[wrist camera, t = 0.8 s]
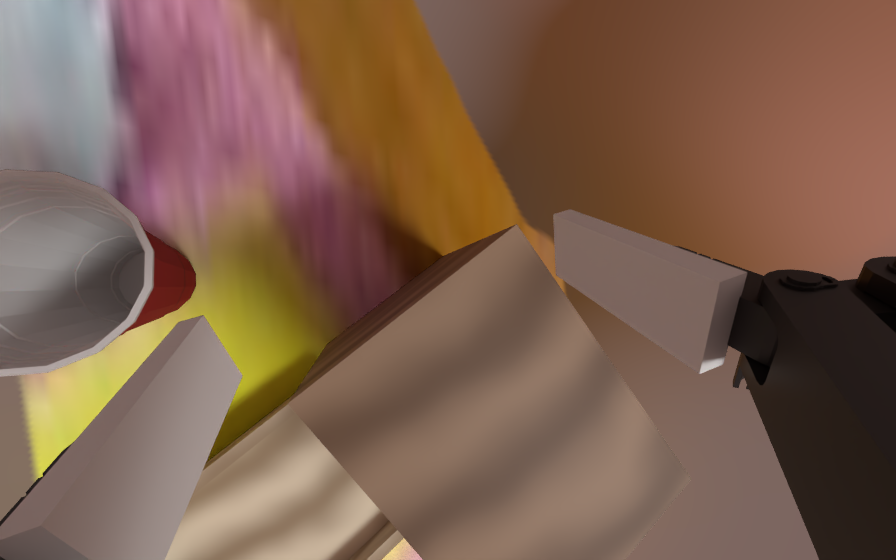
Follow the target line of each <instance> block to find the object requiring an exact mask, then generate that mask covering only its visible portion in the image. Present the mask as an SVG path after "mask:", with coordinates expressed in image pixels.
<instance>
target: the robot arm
mask: <svg viewBox="0 0 896 560" xmlns="http://www.w3.org/2000/svg"><path fill="white" fill-rule="evenodd" d="M554 240H555V264H556V275H557V276H558V277H560V278H561V279H563V280H564V281H566V282H567V283H568V284H570V285H571V286H573V287H574V288H576V289H577V290H579V291H580V292H581V293H583V294H584V295H586V296H587V297H589V298H590V299H592V300H593V301H595V302H596V303H598V304H599V305H600V306H602V307H603V308H605V309H606V310H608V311H609V312H610V313H612V314H613V315H615V316H616V317H618V318H619V319H621V320H622V321H623V322H625V323H626V324H628V325H629V326H631V327H633V328H634V329H635V330H636V331H638V332H639V333H641V334H642V335H644V336H645V337H647V338H648V339H650V340H651V341H652V342H654V343H655V344H657V345H658V346H660V347H661V348H663V349H664V350H665V351H667V352H669V353H670V354H671V355H673V356H674V357H676V358H677V359H679V360H680V361H681V362H683V363H684V364H686V365H687V366H689V367H690V368H692V369H693V370H694V371H696V372H697V373H699V374H701V373H703V372H706V371H708V370H710V369H713V368H715V367H718V366H720V365H722V364H723V363H724V359H725V356H726V352H727V348H728V345H729V346H731V347H732V348H734V349H736V350H738V351H740V352H741V355H740V358H739V361H738V365H737V368H736V372H735V376H734V379H733V387H735V388H738V387H739V384H740V381H741V380H742V379H743V378H745V380H746V383H747V387H746V389H749V390H750V392H751V395H752V397H753V400H754V402H755V405H756V407H757V409H758V412H759V414H760V417H761V419H762V421H763V424H764V426H765V429H766V431H767V433H768V436H769V439H770V441H771V443H772V446H773V448H774V451H775V453H776V456H777V458H778V460H779V463H780V465H781V468H782V470H783V472H784V475H785V477H786V479H787V482H788V485H789V487H790V489H791V492H792V494H793V497H794V499H795V502H796V504H797V506H798V509H799V511H800V514H801V516H802V518H803V521H804V523H805V526H806V528H807V531H808V533H809V535H810V538H811V540H812V543H813V545H814V548H815V550H816V552H817V555H818V557H819V560H896V257H878V258H872V259H870V260H868V261H866V262H865V264H864V266H863V268H862V271H861V273H860V275H859V277H858V279H853V280H844V281H838V280H836V279H834V278H832V277H830V276H826V275H823V274H819V273H814V272H809V271H802V270H776V271H773V272H769V273H767V274H766V275H765V276H762V275H760V274H757V273H754V272H751V271H748V270H745V269H742V268H740V267H737V266H734V265H731V264H728V263H725V262H722V261H720V260H717V259H711V258H710V257H708V256H705V255H702V254H697V253H696V252H694V251H691V250H688V249H685V248H682V247H678V246H672V245H669V244H666V243H664V242H661V241H658V240H655V239H652V238H649V237H647V236H644V235H641V234H638V233H635V232H633V231H630V230H627V229H624V228H621V227H618V226H615V225H613V224H610V223H607V222H604V221H601V220H599V219H596V218H593V217H590V216H587V215H584V214H582V213H579V212H576V211H573V210H567V211H563V212H560V213H557V214H554ZM241 378H242V374H241V373H240V371H239V369H238V368H237V366H236V365H235V363H234V362H233V360H232V359H231V357H230V356H229V354H228V352H227V351H226V349H225V348H224V346H223V345H222V343H221V342H220V340H219V339H218V337H217V336H216V334H215V332H214V331H213V329H212V328H211V326H210V325H209V323H208V322H207V320H206V319H205V317H204V315H202V316H199V317H195V318H192V319H188V320H185V321H181V322H178V324H177V325H176V326H175V327H174V328H173V329H172V330H171V332H170V333H169V334H168V335H167V336H166V337H165V338H164V340H163V341H162V342H161V343H160V344H159V345H158V346H157V348H156V349H155V350H154V351H153V352H152V353H151V354H150V356H149V357H148V358H147V359H146V360H145V361H144V362H143V364H142V365H141V366H140V367H139V368H138V369H137V370H136V372H135V373H134V374H133V375H132V376H131V377H130V378H129V380H128V381H127V382H126V383H125V384H124V385H123V386H122V388H121V389H120V390H119V391H118V392H117V393H116V394H115V396H114V397H113V398H112V399H111V400H110V401H109V402H108V404H107V405H106V406H105V407H104V408H103V409H102V411H101V412H100V413H99V414H98V415H97V416H96V417H95V419H94V420H93V421H92V422H91V423H90V424H89V425H88V427H87V428H86V429H85V430H84V431H83V432H82V433H81V435H80V436H79V437H78V438H77V439H76V440H75V441H74V442H73V443H72V444H71V445H69V446H68V447H67V448H66V449H65V450H63V451H62V452H61V453H60V454H59V456H58V457H57V458H56V459H55V460H54V461H53V462H52V464H51V465H50V466H49V467H48V468H47V469H46V470H45V471H44V473H43V477H41V478H38V479H37V480H36V482H35V483H34V484H33V485H32V486H31V487H30V488H29V490H28V491H27V492H26V496H25V497H22V498H21V499H20V500H19V501H18V502H17V503H16V504H15V505H14V507H13V508H12V509H11V510H10V511H9V512H8V513H7V514H6V516H5V517H4V518H3V519H2V520H1V521H0V560H165V558H166V556H167V553H168V551H169V549H170V546H171V544H172V542H173V539H174V537H175V534H176V532H177V530H178V527H179V525H180V523H181V520H182V518H183V516H184V513H185V511H186V508H187V506H188V504H189V501H190V499H191V497H192V494H193V492H194V489H195V487H196V485H197V482H198V480H199V478H200V475H201V473H202V471H203V468H204V466H205V463H206V461H207V459H208V456H209V454H210V452H211V449H212V447H213V445H214V442H215V440H216V437H217V435H218V433H219V430H220V428H221V426H222V423H223V421H224V418H225V416H226V414H227V411H228V409H229V407H230V404H231V402H232V400H233V397H234V395H235V392H236V390H237V388H238V385H239V383H240V381H241Z"/></svg>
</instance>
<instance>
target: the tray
mask: <svg viewBox="0 0 896 560" xmlns="http://www.w3.org/2000/svg"><path fill="white" fill-rule="evenodd" d="M292 396H293V395H292ZM292 396H291V397H290V398H289V399H287V400H286V401H285V402H283V403H282V404H281V405H280V406H278V407H277V408H276V409H274V410H273V411H272V412H271V413H269V414H268V415H267V416H265V417H264V418H263V419H262V420H260V421H259V422H258V423H256V424H255V425H254V426H253V427H251V428H250V429H249V430H247V431H246V432H245V433H244V434H242V435H241V436H240V437H239V438H237V439H236V440H235V441H233V442H232V443H231V444H230V445H228V446H227V447H226V448H224V449H223V450H222V451H221V452H219V453H218V454H217V455H215V456H214V457H213V458H212V459H210V460H209V461H208V462H206V463H205V466H204V468H203V471H202V473H201V475H200V478H199V480H198V482H197V485H196V487H195V489H194V492H193V494H192V497H191V499H190V501H189V504H188V506H187V508H186V511H185V513H184V516H183V518H182V520H181V523H180V525H179V527H178V530H177V532H176V534H175V537H174V539H173V542H172V544H171V546H170V549H169V551H168V553H167V556H166V558H165V560H382V559H383V558H384V557H385V556H386V555H387V554H388V553H389V552H390V551H391V550H392V549H393V548H394V547H395V546H396V545H397V544H398V543H399V542H400V541H401V540H402V539H403V538H404V537H403V536H402V535H401V534H400V532H399V531H398V530H397V529H396V528H395V527H394V526H393V524H392V523H391V522H390V521H389V520H388V519H387V518H386V516H385V515H384V514H383V513H382V512H381V511H380V509H379V508H378V507H377V506H376V505H375V504H374V503H373V501H372V500H371V499H370V498H369V497H368V496H367V495H366V493H365V492H364V491H363V490H362V489H361V488H360V486H359V485H358V484H357V483H356V482H355V481H354V480H353V478H352V477H351V476H350V475H349V474H348V473H347V471H346V470H345V469H344V468H343V467H342V466H341V465H340V463H339V462H338V461H337V460H336V459H335V458H334V457H333V455H332V454H331V453H330V452H329V451H328V450H327V448H326V447H325V446H324V445H323V444H322V443H321V442H320V440H319V439H318V438H317V437H316V436H315V435H314V434H313V432H312V431H311V430H310V429H309V428H308V427H307V425H306V424H305V423H304V422H303V421H302V420H301V419H300V417H299V416H298V415H297V414H296V413H295V412H294V411H293V409H292V408H291V407H290V406H289V405H288V402H289V401H290V399H291V398H292Z"/></svg>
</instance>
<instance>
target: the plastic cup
mask: <svg viewBox="0 0 896 560" xmlns="http://www.w3.org/2000/svg"><path fill="white" fill-rule="evenodd" d="M195 287H196V273H195V271H194V269H193V267H192V266H191V264H190V262H189V261H188V259H186V258H185V257H184V256H183V255H181V254H180V253H179V252H178V251H177V250H175V249H173V248H171V247H169V246H168V245H166V244H165V243H164V242H163V241H161V240H160V239H158V238H156V237H155V236H153V235H151V234H150V233H148V232H147V231H145V230H144V229H143V227H142V225H141V223H140V221H139V219H138V218H137V216H136V215H135V214H133V213H132V212H131V211H130V210H129V209H127V208H126V207H125V206H124V205H123V204H121V203H120V202H119V201H118V200H117V199H115V198H114V197H113V196H112V195H111V194H109V193H108V192H107V191H106V190H105V189H103V188H100V187H97V186H95V185H92V184H89V183H86V182H84V181H81V180H78V179H75V178H73V177H70V176H67V175H64V174H62V173H59V172H44V171H25V170H6V169H5V170H1V171H0V376H13V375H24V374H36V373H48V372H51V371H53V370H56V369H58V368H61V367H63V366H66V365H68V364H71V363H73V362H76V361H78V360H81V359H83V358H86V357H88V356H91V355H93V354H96V353H98V352H100V351H101V350H103V349H104V348H105V347H106V346H107V345H109V344H110V343H111V342H112V341H113V340H115V339H116V338H117V337H118V336H120V335H123V334H124V333H125V332H126V331H129V330H131V329H134V328H136V327H139V326H141V325H144V324H146V323H149V322H151V321H154V320H156V319H159V318H161V317H163V316H164V315H165V314H168V313H170V312H173V311H175V310H178V309H179V308H180V307H181V306H182V305H183V304H184V303H185V302H186V301H188V300H189V299H190V298H191V296H192V293H193V291H194V289H195Z"/></svg>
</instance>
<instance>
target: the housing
mask: <svg viewBox="0 0 896 560" xmlns="http://www.w3.org/2000/svg"><path fill="white" fill-rule="evenodd" d="M288 405H289V406H290V407H291V408H292V409H293V411H294V412H295V413H296V414H297V415H298V416H299V417H300V419H301V420H302V421H303V422H304V423H305V424H306V425H307V427H308V428H309V429H310V430H311V431H312V432H313V434H314V435H315V436H316V437H317V438H318V439H319V440H320V442H321V443H322V444H323V445H324V446H325V447H326V448H327V450H328V451H329V452H330V453H331V454H332V455H333V457H334V458H335V459H336V460H337V461H338V462H339V463H340V465H341V466H342V467H343V468H344V469H345V470H346V471H347V473H348V474H349V475H350V476H351V477H352V478H353V480H354V481H355V482H356V483H357V484H358V485H359V486H360V488H361V489H362V490H363V491H364V492H365V493H366V495H367V496H368V497H369V498H370V499H371V500H372V501H373V503H374V504H375V505H376V506H377V507H378V508H379V509H380V511H381V512H382V513H383V514H384V515H385V516H386V518H387V519H388V520H389V521H390V522H391V523H392V524H393V526H394V527H395V528H396V529H397V530H398V531H399V532H400V534H401V535H402V536H403V537H404V538H405V539H406V541H407V542H408V543H409V544H410V545H411V546H412V547H413V549H414V550H415V551H416V552H417V553H418V554H419V555H420V557H421V558H422V559H423V560H626V559H627V557H628V556H629V555H630V554H631V553H632V551H633V550H634V549H635V548H636V546H637V545H638V544H639V543H640V541H641V540H642V539H643V538H644V537H645V535H646V534H647V533H648V532H649V530H650V529H651V528H652V527H653V525H654V524H655V523H656V522H657V521H658V519H659V518H660V517H661V516H662V514H663V513H664V512H665V511H666V510H667V508H668V507H669V506H670V505H671V503H672V502H673V501H674V500H675V499H676V497H677V496H678V495H679V493H680V492H681V491H682V490H683V489H684V487H685V486H686V485H687V484H688V483H689V481H690V480H691V478H690V476H689V475H688V473H687V472H686V470H685V469H684V467H683V466H682V464H681V463H680V461H679V460H678V459H677V457H676V456H675V454H674V453H673V451H672V450H671V448H670V447H669V445H668V444H667V442H666V441H665V440H664V438H663V437H662V435H661V434H660V433H659V431H658V429H657V428H656V426H655V425H654V424H653V422H652V421H651V419H650V418H649V416H648V415H647V413H646V412H645V411H644V409H643V407H642V406H641V405H640V403H639V402H638V400H637V399H636V397H635V396H634V394H633V393H632V392H631V390H630V389H629V387H628V386H627V384H626V383H625V381H624V380H623V378H622V377H621V375H620V374H619V372H618V371H617V370H616V368H615V367H614V365H613V364H612V362H611V361H610V359H609V358H608V357H607V355H606V354H605V352H604V351H603V349H602V348H601V346H600V345H599V344H598V342H597V340H596V339H595V338H594V336H593V335H592V333H591V332H590V330H589V329H588V327H587V326H586V324H585V323H584V322H583V320H582V319H581V317H580V316H579V314H578V313H577V311H576V310H575V308H574V307H573V305H572V304H571V302H570V301H569V300H568V298H567V297H566V295H565V294H564V292H563V291H562V289H561V288H560V286H559V285H558V284H557V282H556V281H555V279H554V278H553V276H552V275H551V273H550V272H549V270H548V269H547V267H546V266H545V265H544V263H543V262H542V260H541V259H540V257H539V256H538V254H537V253H536V251H535V250H534V249H533V247H532V246H531V244H530V243H529V241H528V240H527V238H526V237H525V235H524V234H523V233H522V231H521V230H520V228H519V227H518V225H517V224H516V225H514V226H512V227H509V228H507V229H505V230H502V231H500V232H498V233H495V234H493V235H491V236H488V237H486V238H484V239H482V240H479V241H477V242H475V243H472V244H470V245H468V246H465V247H463V248H461V249H458V250H456V251H454V252H452V253H449V254H447V255H445V256H443V257H441V258H440V259H439V260H437V261H436V262H435V263H434V264H432V265H431V266H430V267H428V268H427V269H426V270H424V271H423V272H422V273H420V274H419V275H418V276H416V277H415V278H414V279H412V280H411V281H410V282H409V283H407V284H406V285H405V286H403V287H402V288H401V289H399V290H398V291H397V292H395V293H394V294H393V295H391V296H390V297H389V298H387V299H386V300H385V301H384V302H382V303H381V304H380V305H378V306H377V307H376V308H374V309H373V310H372V311H370V312H369V313H368V314H366V315H365V316H364V317H362V318H361V319H360V320H359V321H357V322H356V323H355V324H353V325H352V326H351V327H349V328H348V329H347V330H345V331H344V332H343V333H341V334H340V335H339V336H337V337H336V338H335V339H334V340H332V341H331V342H330V343H328V344H327V345H326V347H325V348H324V350H323V351H322V353H321V354H320V356H319V357H318V359H317V360H316V362H315V363H314V365H313V366H312V368H311V369H310V371H309V372H308V374H307V375H306V377H305V378H304V380H303V381H302V383H301V384H300V386H299V387H298V389H297V390H296V392H295V393H294V395H293V396H292V398H291V399H290V401H289V402H288Z"/></svg>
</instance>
